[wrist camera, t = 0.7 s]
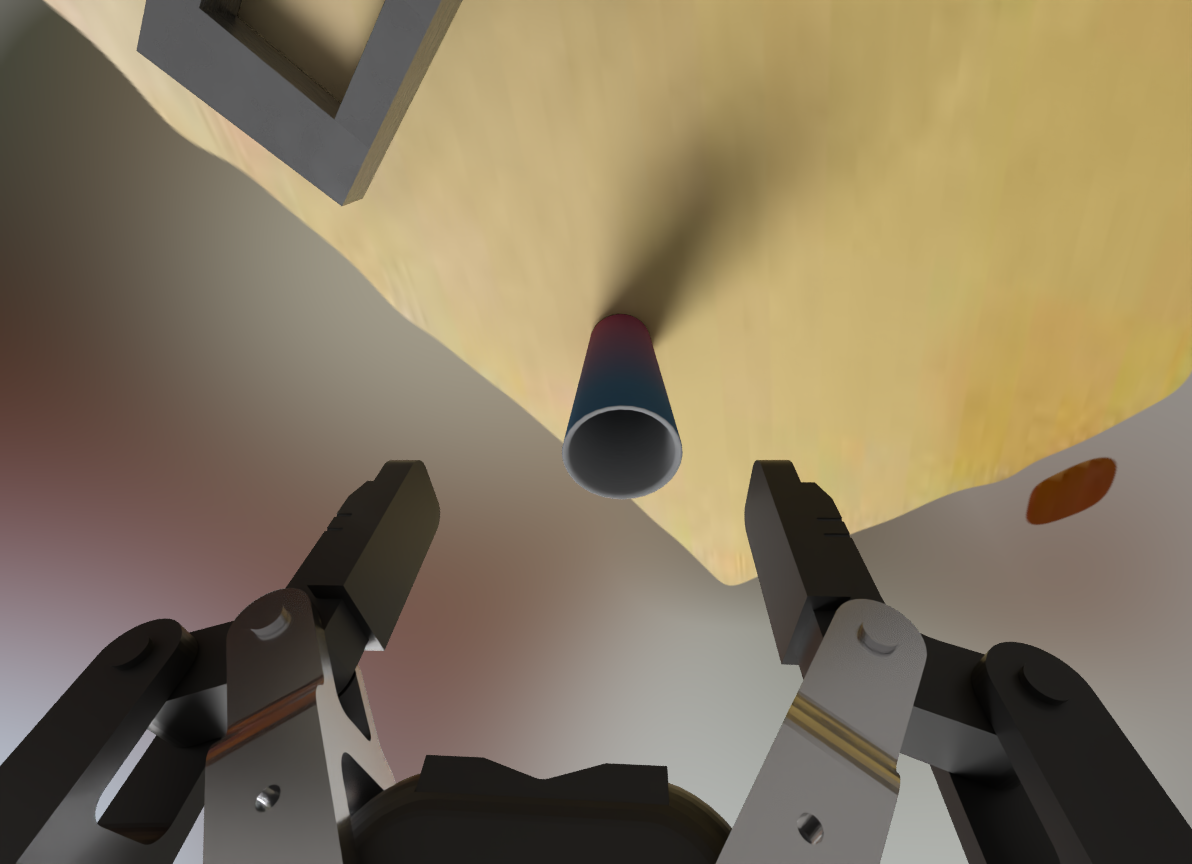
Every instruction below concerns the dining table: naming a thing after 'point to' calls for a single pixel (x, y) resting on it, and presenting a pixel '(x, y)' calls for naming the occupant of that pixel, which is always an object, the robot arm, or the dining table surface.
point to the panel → (300, 84)
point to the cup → (621, 416)
